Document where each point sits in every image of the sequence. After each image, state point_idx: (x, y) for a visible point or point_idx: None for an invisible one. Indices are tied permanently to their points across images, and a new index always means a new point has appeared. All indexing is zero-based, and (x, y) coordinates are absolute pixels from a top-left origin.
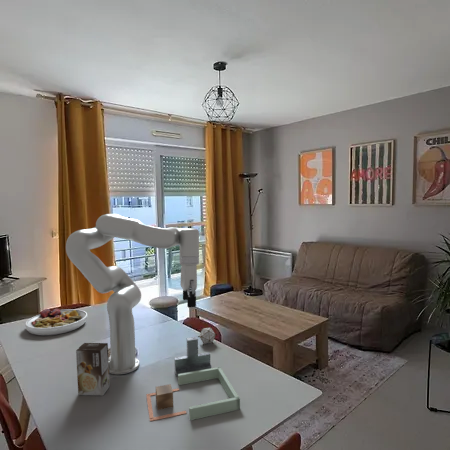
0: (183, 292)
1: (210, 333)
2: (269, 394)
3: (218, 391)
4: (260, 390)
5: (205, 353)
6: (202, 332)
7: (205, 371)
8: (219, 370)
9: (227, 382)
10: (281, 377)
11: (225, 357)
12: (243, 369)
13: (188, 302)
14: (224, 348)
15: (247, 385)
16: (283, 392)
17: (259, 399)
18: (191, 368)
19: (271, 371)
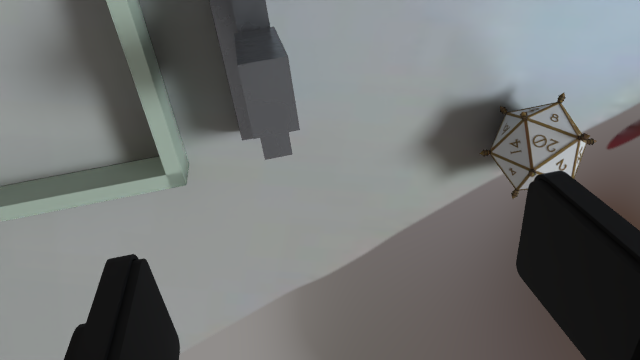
0: (629, 265)
1: (520, 172)
2: (42, 313)
3: (51, 147)
4: (68, 291)
5: (279, 135)
6: (549, 132)
7: (145, 114)
8: (148, 180)
9: (30, 206)
10: None
11: (350, 196)
12: (233, 252)
13: (94, 331)
14: (435, 198)
15: (104, 255)
16: (58, 350)
17: (3, 282)
18: (227, 38)
19: (205, 334)
